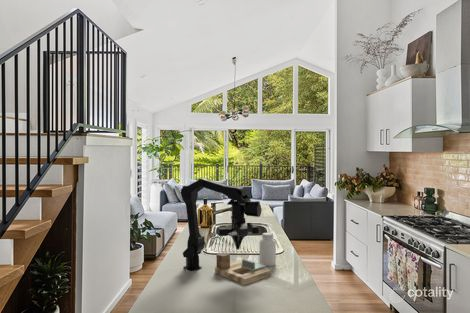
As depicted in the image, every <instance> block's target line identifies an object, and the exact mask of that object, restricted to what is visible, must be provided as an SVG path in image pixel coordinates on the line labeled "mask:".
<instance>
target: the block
mask: <svg viewBox="0 0 470 313" xmlns="http://www.w3.org/2000/svg"><path fill="white" fill-rule="evenodd" d="M215 259H216V267H217V268H220V269H226V268H230V263H231V254H229V253H227V252H220V253H217V254H216V258H215Z"/></svg>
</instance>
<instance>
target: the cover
mask: <svg viewBox="0 0 470 313" xmlns="http://www.w3.org/2000/svg"><path fill="white" fill-rule="evenodd" d="M241 261H242V265H241V267H244V268H246V269H249V270H252V271H255V270H258V269H261V268H266V267H267V266H265V265H262V264H260V262H257V261H256V262H255V261H253V260H249V259H247V258H243V259H241Z"/></svg>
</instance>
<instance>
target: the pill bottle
mask: <svg viewBox="0 0 470 313" xmlns="http://www.w3.org/2000/svg"><path fill="white" fill-rule="evenodd" d="M261 237H262V238H261V239H260V240H259V264H262V265H265V266H266V267H272V266H275V265H276V263H277V258H276V257H277V253H276V252H277V248H276V245H277V243H276V240H275V239H274V234H273V233H272V232H263V233H262V235H261Z"/></svg>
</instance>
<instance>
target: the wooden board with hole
mask: <svg viewBox="0 0 470 313" xmlns="http://www.w3.org/2000/svg"><path fill="white" fill-rule="evenodd" d="M241 265H242V259H240V260H235V261H232V262H230V268H226V269H220V268H217V266H215V267H214V274H217V275H219V276H221V277H225V278H227V279H229V280H233V281H234V282H238V283H239V284H242V285H243V286H245V285H247V284H250V283H254V282H256V281H258V280H261V279H265V278H267V277H270V276H271V275H272V274H271V271H272V270H270V269H269V268H266V267H264V268H261V269H258V270H255V271H252V270H249V269H246V268H244V267H241ZM242 273H243V274H242Z"/></svg>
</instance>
